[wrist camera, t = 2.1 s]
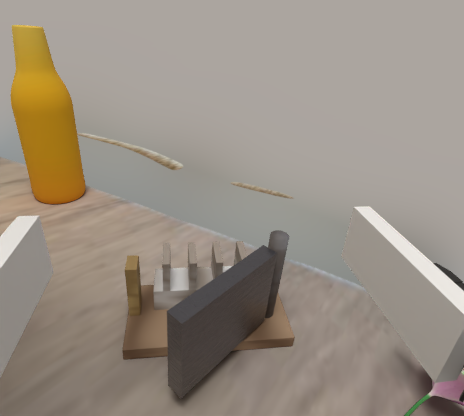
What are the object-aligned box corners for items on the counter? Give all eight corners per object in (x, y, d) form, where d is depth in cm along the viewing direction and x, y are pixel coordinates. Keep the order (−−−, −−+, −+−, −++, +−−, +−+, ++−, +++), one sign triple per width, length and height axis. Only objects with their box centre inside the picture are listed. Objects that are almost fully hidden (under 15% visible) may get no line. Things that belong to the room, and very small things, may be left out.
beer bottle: (96, 193, 66) (73, 30, 52) (51, 210, 59) (11, 28, 45) (68, 179, 70) (40, 24, 56) (24, 194, 63) (-21, 22, 49)
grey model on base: (271, 287, 47) (286, 209, 40) (292, 345, 39) (315, 258, 32) (133, 294, 43) (125, 209, 37) (123, 359, 35) (111, 265, 29)
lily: (505, 519, 27) (591, 439, 25) (385, 449, 27) (463, 362, 25) (430, 404, 39) (485, 344, 37) (346, 355, 38) (397, 290, 36)
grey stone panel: (252, 311, 40) (263, 245, 35) (264, 320, 39) (277, 253, 34) (168, 385, 31) (166, 310, 26) (181, 398, 30) (181, 324, 25)
